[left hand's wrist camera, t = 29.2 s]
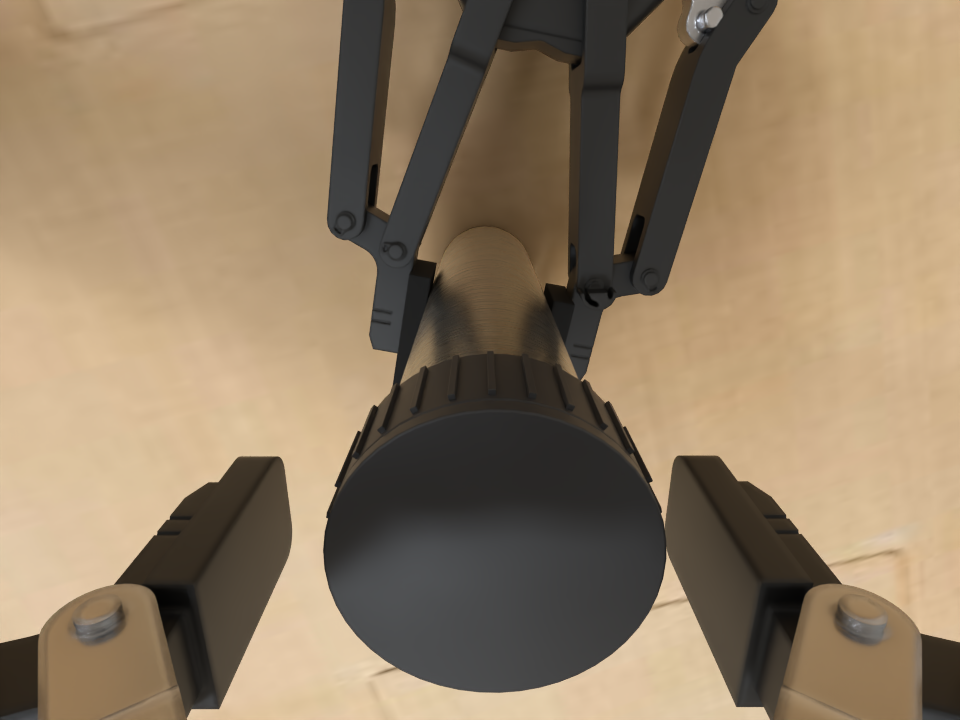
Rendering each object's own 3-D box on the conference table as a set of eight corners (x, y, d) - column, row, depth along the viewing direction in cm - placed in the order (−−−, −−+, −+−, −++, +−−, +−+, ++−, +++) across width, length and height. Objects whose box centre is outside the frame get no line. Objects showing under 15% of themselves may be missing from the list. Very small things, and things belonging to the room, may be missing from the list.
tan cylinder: (539, 235, 28) (657, 429, 9) (520, 323, 29) (590, 643, 11) (447, 218, 27) (378, 382, 9) (433, 308, 29) (348, 608, 10)
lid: (660, 362, 10) (707, 422, 8) (609, 606, 12) (636, 707, 10) (352, 335, 10) (317, 388, 8) (347, 586, 12) (317, 685, 10)
